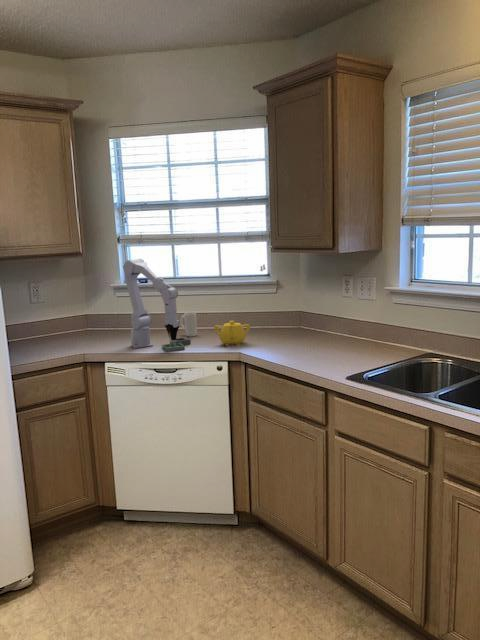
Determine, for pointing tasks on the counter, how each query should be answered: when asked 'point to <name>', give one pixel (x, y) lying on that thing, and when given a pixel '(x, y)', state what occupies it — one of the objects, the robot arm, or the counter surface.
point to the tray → (176, 348)
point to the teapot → (232, 333)
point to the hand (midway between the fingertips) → (172, 339)
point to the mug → (189, 324)
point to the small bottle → (172, 341)
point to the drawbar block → (183, 341)
